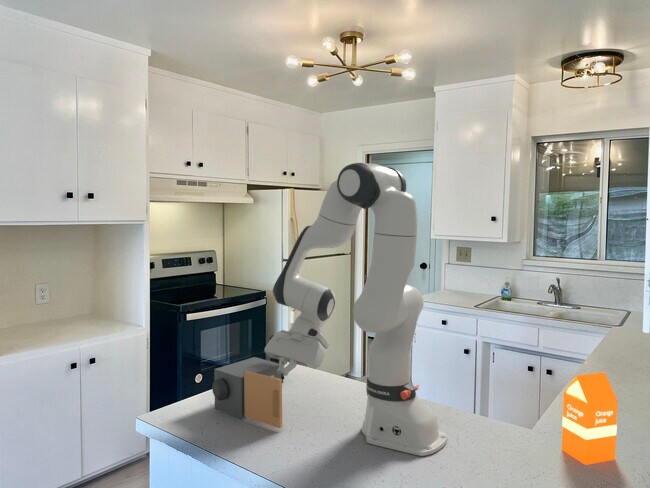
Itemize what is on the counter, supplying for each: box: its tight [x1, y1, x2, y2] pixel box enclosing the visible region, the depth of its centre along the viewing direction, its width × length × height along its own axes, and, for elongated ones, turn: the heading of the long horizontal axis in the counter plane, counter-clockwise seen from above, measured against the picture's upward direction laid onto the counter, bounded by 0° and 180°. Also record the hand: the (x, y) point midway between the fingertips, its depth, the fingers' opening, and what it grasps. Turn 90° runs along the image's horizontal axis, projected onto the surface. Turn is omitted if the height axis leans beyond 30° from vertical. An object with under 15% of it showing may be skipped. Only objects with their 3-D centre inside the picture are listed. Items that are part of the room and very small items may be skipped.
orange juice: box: [561, 371, 618, 465], centre depth 120 cm, size 8×9×20 cm
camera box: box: [211, 356, 281, 420], centre depth 149 cm, size 12×18×12 cm
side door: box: [244, 370, 283, 429], centre depth 136 cm, size 2×14×13 cm, turn 56°
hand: (281, 374), depth 145 cm, fingers closed
